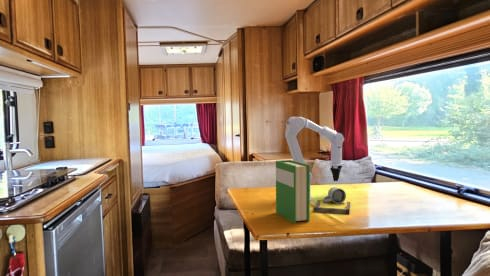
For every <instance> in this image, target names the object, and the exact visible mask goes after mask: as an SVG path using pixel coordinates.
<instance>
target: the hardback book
mask: <svg viewBox="0 0 490 276" xmlns="http://www.w3.org/2000/svg"><path fill="white" fill-rule="evenodd" d="M310 167H311V165H310V164H307V163H305V164H304V163H300V162H296V161H293V159H286V160H285V159H284V160H276V161H275V213H276V214H277V215H279V216H280V217H282V218H283V219H286V220H287V221H289V222H290V223H292V224H296V223H297V222H299V221H305V222H307V223H310V221H311V220H310V211H311V210H310V205H311V204H310V202H311V201H310V197H311V182H310V172H311V171H310V169H311V168H310Z"/></svg>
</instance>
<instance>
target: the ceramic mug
mask: <svg viewBox="0 0 490 276" xmlns="http://www.w3.org/2000/svg"><path fill="white" fill-rule="evenodd" d="M346 198H347V193H346V191H345V190H344V189H343V188H340V187H337V186H334V187H333V186H332V187H331V188H330V189H328V193H327V195H326V196H325V197H323V198H322V201H323V203H329V202H331V201H332V203H335V204H337V205H340V204H343V203H344V202H345V200H346Z"/></svg>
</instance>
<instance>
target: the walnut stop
mask: <svg viewBox="0 0 490 276" xmlns="http://www.w3.org/2000/svg"><path fill="white" fill-rule="evenodd" d="M345 207H346V208H338V207H325V206H324V207H322V206H321V200H320V199H317V200H316V203H315V204H314V206H313V213H323V214H324V213H326V214H338V213H339V214H341V215H350V211H351V201H346V206H345ZM339 214H338V215H339Z"/></svg>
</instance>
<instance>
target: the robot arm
mask: <svg viewBox="0 0 490 276" xmlns="http://www.w3.org/2000/svg"><path fill="white" fill-rule="evenodd" d="M304 128H308V129H309V130H312V131H314V132H316V133H318V135H319V136H320V137H321V138H324V139H326V140H327V141H329V142H330V166H331V167H330V172H331V174H332V179H333V182H339V179H340V175H341V170H342V168H343V165H345V163H344V162H343V143H344V142H345V137H344V134H342V133H341V132H337V130H335V129H334V130H333V129H331V128H330V126H328V125H327V126H325V125H324V126H323V125H322V126H320V125H319V124H316V123H315V122H314V121H312V120H310V119H308V118H305V117H302V116H290V117H288V119H287V120H286V123H285V133H284V137H285V139H286V142H287V143H286V144H287V145H288V148H289V152H290V154H291V158H292V161H296V162H300V163H304V164H306V163H305V159H304V156H303V154H302V153H303V152H302V150H301V147H300V144H299V141H298V138H297V135H298V134H299V132H301V130H302V129H304ZM313 177H314V176H313V173H311V171H310V183H311V182H312V181H313ZM312 199H313V197H311V196H310V202H311V201H312Z"/></svg>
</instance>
